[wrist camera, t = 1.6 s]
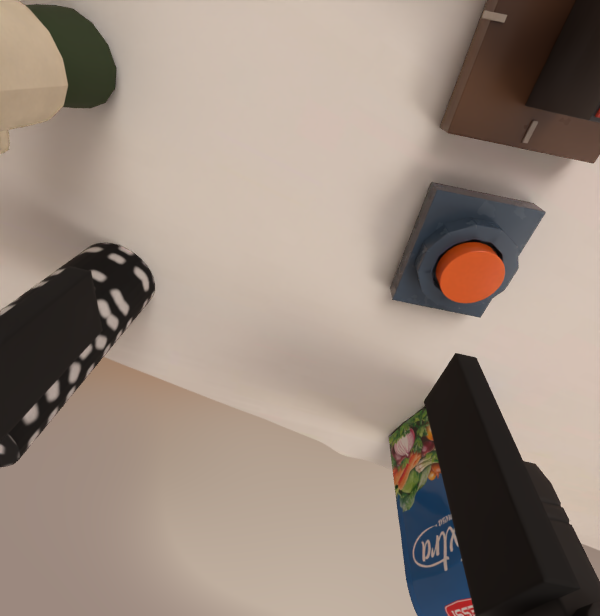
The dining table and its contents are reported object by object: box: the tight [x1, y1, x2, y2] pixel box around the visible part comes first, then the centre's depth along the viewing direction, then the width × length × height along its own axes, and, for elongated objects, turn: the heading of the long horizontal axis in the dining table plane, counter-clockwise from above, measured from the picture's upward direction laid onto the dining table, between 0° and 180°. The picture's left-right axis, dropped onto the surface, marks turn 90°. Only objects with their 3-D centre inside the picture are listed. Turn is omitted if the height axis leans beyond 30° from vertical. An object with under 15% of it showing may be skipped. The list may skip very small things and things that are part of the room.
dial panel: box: [440, 0, 600, 163], centre depth 22 cm, size 13×12×3 cm
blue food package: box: [389, 407, 475, 616], centre depth 37 cm, size 6×12×25 cm, turn 153°
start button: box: [436, 242, 505, 303], centre depth 29 cm, size 5×5×2 cm
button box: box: [390, 182, 546, 317], centre depth 31 cm, size 11×9×4 cm
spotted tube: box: [0, 243, 155, 467], centre depth 30 cm, size 8×8×20 cm
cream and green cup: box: [0, 0, 116, 154], centre depth 21 cm, size 11×7×13 cm, turn 158°
